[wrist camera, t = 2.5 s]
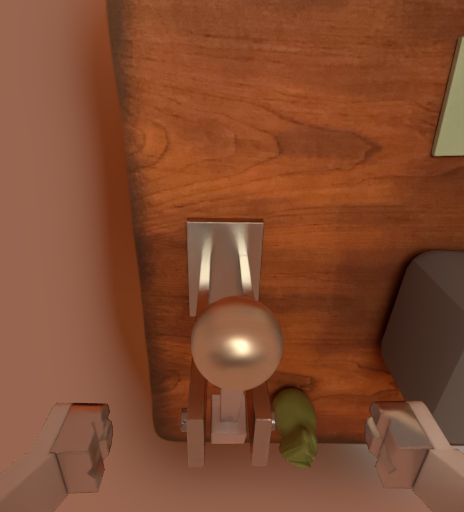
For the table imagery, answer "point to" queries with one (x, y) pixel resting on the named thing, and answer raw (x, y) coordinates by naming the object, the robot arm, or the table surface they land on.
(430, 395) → the alarm clock
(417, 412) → the robot arm
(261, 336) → the lever
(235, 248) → the bracket
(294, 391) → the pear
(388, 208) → the table surface
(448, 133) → the button box
